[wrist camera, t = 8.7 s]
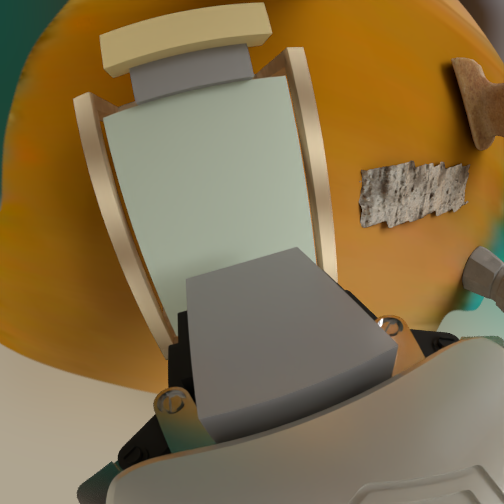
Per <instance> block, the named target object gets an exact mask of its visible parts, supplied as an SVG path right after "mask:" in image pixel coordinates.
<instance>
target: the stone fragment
mask: <svg viewBox="0 0 504 504" xmlns="http://www.w3.org/2000/svg"><path fill="white" fill-rule="evenodd" d="M469 167H470V165H467V166H463V167H462V164H459V165H456V166H454V167H450V168H448V169H445V164H444V162H440V165H438V166H435V167H433V163H430V164H425V165H422V166H420V167H416V168H415V164H414V161H410V162H407V163H403V164H399V165H397V166H393V165H392V166H390V167H382V168H375V169H370V170H368V171H365V170H361V173H362V189H361V195H360V200H359V203H360V205H361V208H362V213H361V222H360V223H361V226H362V227H369V226H372V225H375V224H377V223H381V222H384V221H386V222H387V224H388V227H389V228H391V227H393V226H396V225H399V224H402V223H404V222H406V221H408V220H409V222H412V221H415V220H417V219H421V218H423V217H424V216H426V215H427V214H430V213H432V212H433V211H435V210H436V216H439V215H440V214H442V213H445V212H447V211H449V210H451V209H453V212H455V211H456V210H458V209H459V208H461V206H463V205H465V204H466V203H468V201H467V202H464V196H465V187H466V182H467V179H468V175H469V173H468V169H469ZM359 182H361V181H359Z"/></svg>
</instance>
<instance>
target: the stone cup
mask: <svg viewBox="0 0 504 504" xmlns="http://www.w3.org/2000/svg"><path fill="white" fill-rule="evenodd" d="M451 61H452V65H453V68H454V71H455V74H456V78H457V81H458V85H459V88H460V91H461V95H462V99H463V102H464V106H465V110H466V114H467V118H468V121H469V126H470V129H471V133H472V137H473V141H474V144H475V146H476V148H477V149H478V150H485V149H487V148H488V147H490V146H491V144H492V142H493V141H494V139H495V136H502V137H504V83H501V84H494V83H491V82H489V81H488V80H487V79H486V77H485V75H484V73H483V70H482V68H481V66H480V65H479V64H477V62H475V61H474V60H472V59H468V58H455V59H451Z"/></svg>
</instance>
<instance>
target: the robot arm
mask: <svg viewBox="0 0 504 504" xmlns="http://www.w3.org/2000/svg"><path fill="white" fill-rule="evenodd" d="M322 270H323V269H322ZM323 271H324V270H323ZM324 272H325V271H324ZM325 273H326V272H325ZM326 274H327V273H326ZM327 275H328V274H327ZM328 276H329V275H328ZM329 277H330V276H329ZM330 278H331V277H330ZM331 279H332V278H331ZM332 280H333V279H332ZM333 281H334V282H335V283H336V284H337V285H338V286H339V287H340V288H341V289H342V290H343V291H345V292H346V293H347V294H348V295H349V296H350V297H351V298H352V299H353V300H354V301H355V302H356V303H357V304H358V305H359V306H360V307H361V308H362V309H363V310H364V311H365V312H366V313H367V314H368V315H369V316H370V317H371V318H372V319H373V320H374V321H375V322H376V323H377V324H378V325H379V326H380V327H381V328H382V329H383V330H384V331H385V332H386V333H387V334H388V335H389V336H390V337H391V338H392V339H393V340H394V341H395V342H396V343H397V344H398V349H397V354H396V359H395V364H394V368H393V373H391V375H390V379H388V380H386V381H384V382H382V383H381V384H379V385H377V386H375V387H373V388H371V389H369V390H367V391H365V392H363V393H361V394H359V395H356V396H354V397H352V398H350V399H348V400H346V401H344V402H341V403H339V404H337V405H334V406H332V407H330V408H327V409H325V410H323V411H320V412H318V413H315V414H313V415H310V416H307V417H305V418H302V419H299V420H297V421H294V422H291V423H288V424H285V425H282V426H279V427H276V428H273V429H270V430H267V431H264V432H260V433H257V434H254V435H250V436H247V437H243V438H239V439H235V440H231V441H227V442H223V443H219V444H218V443H217V441H216V440H213V439H212V438H211V436H210V435H209V434H208V432H207V431H206V429H205V428H204V426H203V425H202V424H201V422H200V421H199V419H198V413H197V405H196V398H195V390H194V381H193V372H192V362H191V352H190V340H189V328H188V314H187V310H186V311H183V312H179V313H178V314H177V316H178V343H176V344H172V345H169V346H168V384H169V388H167V389H165V390H163V391H161V392H160V393H159V394H158V395H157V396H156V398H155V400H154V403H153V406H154V411H155V415H154V416H153V417H152V418H151V419H150V420H149V421H148V422H147V423H146V424H145V425H144V426H143V427H142V428H141V429H140V430H139V431H138V432H137V433H136V434H135V435H134V436H133V437H132V438H131V439H130V440H129V441H128V442H127V443H126V444H125V445H124V446H123V447H122V449H121V450H120V451H119V454H118V461H116V462H115V463H113V462H112V461H111V462H110V463H109V464H107V465H106V466H105V467H104V468H102V469H101V470H100V471H98V472H97V473H96V474H94V475H93V476H92V477H90V478H89V479H88V480H86V481H85V482H84V483H82V484H81V485H80V486H79V487H78V490H77V498H78V501H79V503H80V504H504V340H503V339H502V338H500V337H498V336H476V337H475V336H474V337H461V339H460V340H459V339H458V338H457V337H456V336H455V335H452V334H450V333H445V332H433V331H423V330H413V329H409V327H408V326H407V324H406V322H405V321H404V320H403V319H402V318H400V317H398V316H395V315H385V316H382V317H379V318H377V317H376V316H375V315H374V314H373V313H372V312H371V311H370V310H369V309H368V308H367V307H366V306H365V305H364V304H362V303H361V302H360V301H359V300H358V299H357V298H356V297H355V296H354V295H353V294H352V293H351V292H350V291H348V290H344V289H343V288H342V287H341V286H340V285H339V284H338V283H337V282H336V281H335V280H333Z"/></svg>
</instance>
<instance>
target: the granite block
mask: <svg viewBox="0 0 504 504" xmlns="http://www.w3.org/2000/svg"><path fill="white" fill-rule="evenodd" d="M186 298H187V314H188V328H189V340H190V352H191V362H192V372H193V381H194V390H195V398H196V405H197V413H198V419H199V421H200V422H201V424H202V425H203V426H204V428H205V429H206V431H207V432H208V434H209V435H210V436H211V438H212V439H213V440H216V441H217V443H218V444H219V443H223V442H227V441H231V440H235V439H239V438H243V437H247V436H250V435H254V434H257V433H260V432H264V431H267V430H270V429H273V428H276V427H279V426H282V425H285V424H288V423H291V422H294V421H297V420H299V419H302V418H305V417H307V416H310V415H313V414H315V413H318V412H320V411H323V410H325V409H327V408H330V407H332V406H334V405H337V404H339V403H341V402H344V401H346V400H348V399H350V398H352V397H354V396H356V395H359V394H361V393H363V392H365V391H367V390H369V389H371V388H373V387H375V386H377V385H379V384H381V383H382V382H384V381H386V380H388V379H390V375H391V373H393V368H394V364H395V359H396V354H397V349H398V344H397V343H396V342H395V341H394V340H393V339H392V338H391V337H390V336H389V335H388V334H387V333H386V332H385V331H384V330H383V329H382V328H381V327H380V326H379V325H378V324H377V323H376V322H375V321H374V320H373V319H372V318H371V317H370V316H369V315H368V314H367V313H366V312H365V311H364V310H363V309H362V308H361V307H360V306H359V305H358V304H357V303H356V302H355V301H354V300H353V299H352V298H351V297H350V296H349V295H348V294H347V293H346V292H345V291H343V290H342V289H341V288H340V287H339V286H338V285H337V284H336V283H335V282H334V281H333V280H332V279H331V278H330V277H329V276H328V275H327V274H326V273H325V272H324V271H323V270H321V269H320V268H319V267H318V266H317V265H316V264H315V263H314V262H313V261H312V260H311V259H310V258H309V257H308V256H307V255H306V254H304V253H303V252H302V251H301V250H300V249H299V248H298V247H294V248H291V249H287V250H284V251H280V252H277V253H273V254H270V255H267V256H263V257H260V258H256V259H253V260H249V261H246V262H242V263H239V264H236V265H232V266H229V267H225V268H222V269H218V270H215V271H211V272H208V273H204V274H201V275H197V276H194V277H190V278H187V279H186Z"/></svg>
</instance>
